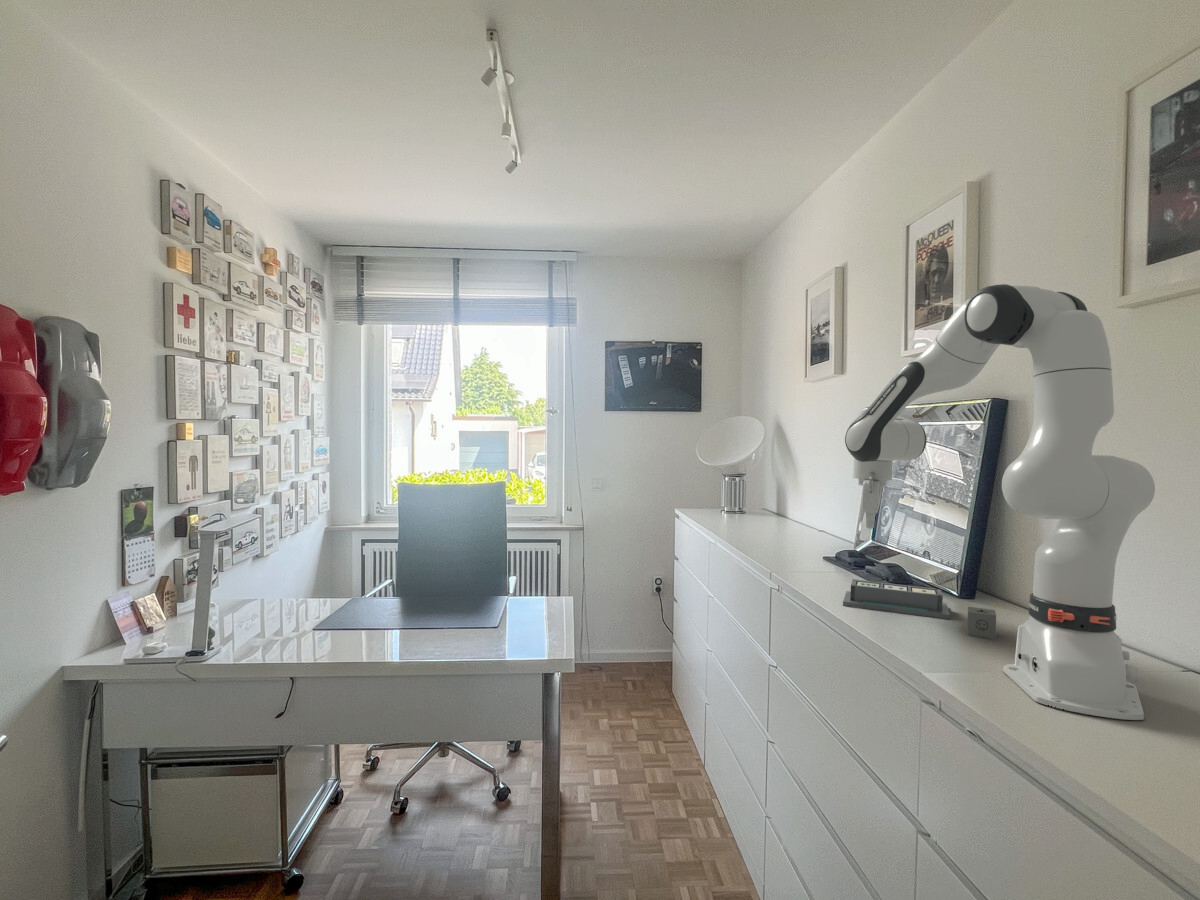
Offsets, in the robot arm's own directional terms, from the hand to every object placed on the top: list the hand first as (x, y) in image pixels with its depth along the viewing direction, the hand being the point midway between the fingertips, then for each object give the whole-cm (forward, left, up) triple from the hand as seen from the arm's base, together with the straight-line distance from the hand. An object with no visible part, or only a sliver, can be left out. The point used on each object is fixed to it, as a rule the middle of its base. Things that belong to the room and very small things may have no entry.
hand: (870, 527), depth 162 cm
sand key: (0, -13, -16) cm, 20 cm away
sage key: (0, 0, -16) cm, 16 cm away
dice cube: (-15, -23, -19) cm, 34 cm away
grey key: (0, -6, -16) cm, 17 cm away
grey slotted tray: (0, -6, -19) cm, 20 cm away
